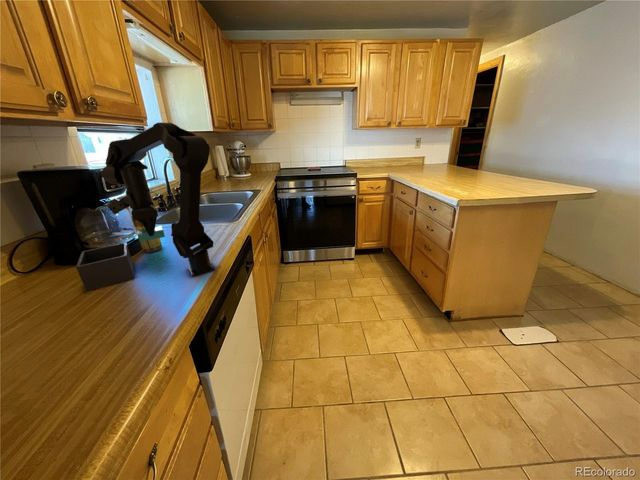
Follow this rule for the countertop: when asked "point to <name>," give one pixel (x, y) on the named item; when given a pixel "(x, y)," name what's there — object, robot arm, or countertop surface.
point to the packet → (145, 236)
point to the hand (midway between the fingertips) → (150, 233)
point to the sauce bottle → (150, 244)
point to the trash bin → (105, 266)
